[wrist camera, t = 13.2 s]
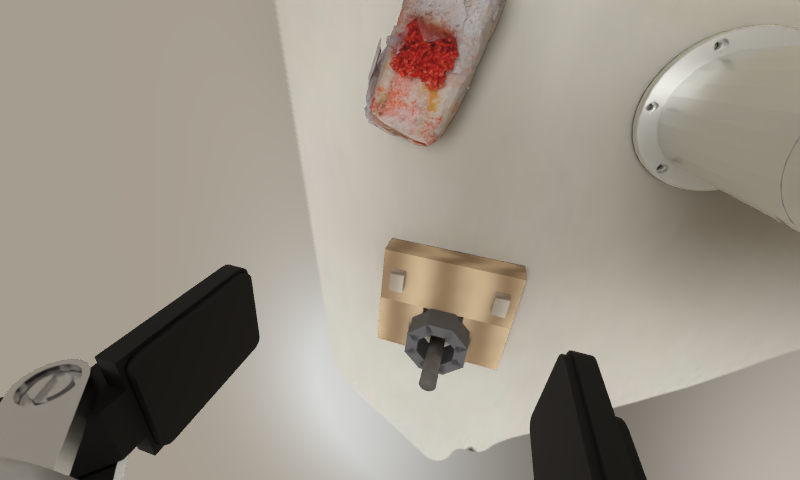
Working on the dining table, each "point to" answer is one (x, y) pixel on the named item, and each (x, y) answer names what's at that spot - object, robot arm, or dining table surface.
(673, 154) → the robot arm
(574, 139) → the dining table surface
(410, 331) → the faceted grey ring
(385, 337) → the toggle switch panel
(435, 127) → the food item
